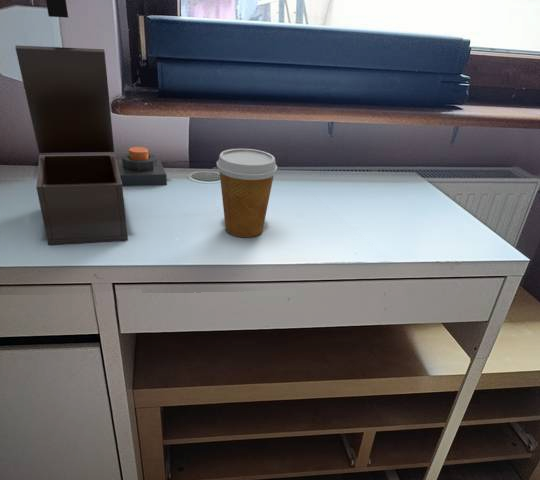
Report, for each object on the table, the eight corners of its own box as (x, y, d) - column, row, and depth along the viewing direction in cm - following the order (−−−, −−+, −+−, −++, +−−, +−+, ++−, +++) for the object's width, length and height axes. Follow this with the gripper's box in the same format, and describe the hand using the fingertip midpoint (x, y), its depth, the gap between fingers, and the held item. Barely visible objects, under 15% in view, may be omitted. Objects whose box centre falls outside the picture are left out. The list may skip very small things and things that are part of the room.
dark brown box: (128, 240, 79) (122, 184, 73) (48, 245, 75) (36, 186, 70) (120, 205, 89) (114, 153, 84) (50, 208, 86) (39, 154, 81)
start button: (128, 156, 100) (128, 146, 99) (147, 155, 101) (146, 146, 100) (130, 161, 97) (129, 152, 96) (149, 161, 98) (149, 152, 97)
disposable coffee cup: (260, 216, 90) (265, 146, 83) (280, 239, 83) (287, 165, 76) (209, 220, 87) (209, 148, 80) (225, 244, 80) (226, 167, 73)
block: (115, 169, 104) (113, 149, 101) (159, 168, 106) (158, 149, 104) (119, 186, 96) (117, 165, 94) (167, 185, 99) (166, 164, 97)
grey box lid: (104, 51, 71) (104, 49, 72) (15, 48, 68) (15, 45, 69) (114, 152, 84) (113, 149, 84) (38, 153, 80) (38, 150, 81)
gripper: (54, -230, 56) (86, 22, 71) (55, -204, 66) (83, 14, 80) (-20, -244, 54) (28, 19, 69) (-8, -215, 64) (33, 11, 78)
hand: (58, 16), depth 75 cm, fingers closed
